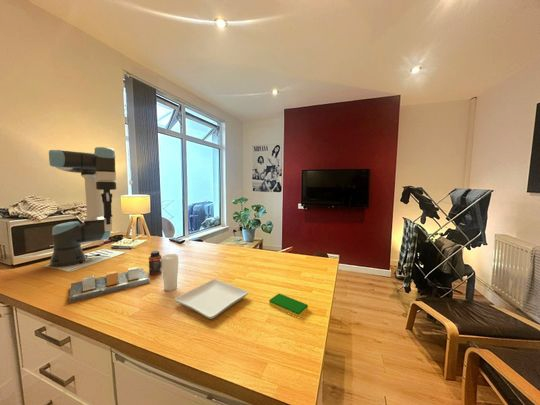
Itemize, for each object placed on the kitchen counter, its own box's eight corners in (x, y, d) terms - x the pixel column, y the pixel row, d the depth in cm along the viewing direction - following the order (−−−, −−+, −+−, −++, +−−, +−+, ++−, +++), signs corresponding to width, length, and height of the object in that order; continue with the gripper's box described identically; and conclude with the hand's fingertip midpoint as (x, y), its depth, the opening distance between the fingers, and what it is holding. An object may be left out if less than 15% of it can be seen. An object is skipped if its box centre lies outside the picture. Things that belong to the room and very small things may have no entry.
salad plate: (211, 326, 72) (211, 316, 72) (173, 306, 83) (173, 298, 83) (249, 298, 90) (249, 291, 90) (214, 285, 101) (214, 278, 101)
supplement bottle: (164, 271, 115) (164, 251, 114) (154, 275, 109) (153, 254, 109) (156, 269, 117) (156, 249, 116) (146, 273, 112) (146, 252, 111)
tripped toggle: (106, 283, 95) (106, 273, 95) (117, 281, 98) (117, 270, 97) (107, 285, 93) (106, 274, 93) (118, 283, 96) (117, 272, 96)
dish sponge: (278, 298, 91) (279, 293, 91) (308, 310, 82) (308, 304, 82) (268, 305, 85) (268, 300, 85) (298, 319, 77) (298, 313, 76)
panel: (71, 287, 96) (70, 272, 95) (143, 272, 114) (142, 258, 113) (69, 303, 84) (68, 285, 83) (149, 282, 102) (149, 267, 101)
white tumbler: (182, 286, 99) (181, 254, 98) (170, 293, 92) (170, 259, 91) (170, 284, 101) (169, 253, 100) (158, 290, 95) (157, 257, 93)
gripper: (95, 181, 103) (97, 229, 105) (96, 181, 93) (99, 234, 95) (114, 181, 107) (116, 227, 109) (117, 181, 98) (119, 232, 100)
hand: (108, 230), depth 102 cm, fingers closed
